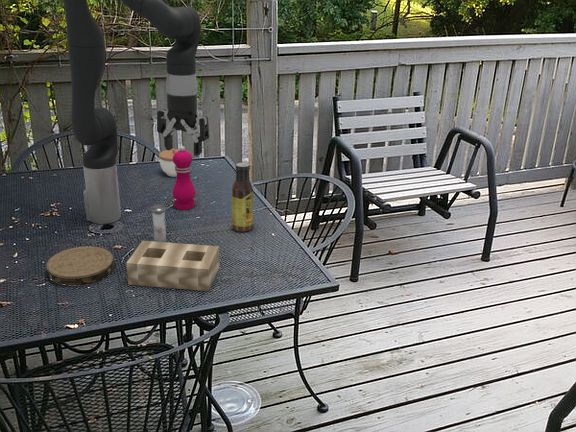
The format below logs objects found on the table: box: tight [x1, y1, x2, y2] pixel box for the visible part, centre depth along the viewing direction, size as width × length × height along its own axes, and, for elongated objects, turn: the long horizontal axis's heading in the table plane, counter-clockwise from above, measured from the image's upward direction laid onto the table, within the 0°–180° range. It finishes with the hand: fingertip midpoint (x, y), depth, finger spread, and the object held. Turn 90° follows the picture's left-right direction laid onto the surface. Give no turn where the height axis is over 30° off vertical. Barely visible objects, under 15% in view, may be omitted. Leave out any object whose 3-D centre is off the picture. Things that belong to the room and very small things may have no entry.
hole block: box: [126, 240, 220, 292], centre depth 145 cm, size 20×12×6 cm, turn 84°
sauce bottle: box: [231, 162, 254, 233], centre depth 168 cm, size 7×6×20 cm
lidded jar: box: [158, 148, 180, 178], centre depth 210 cm, size 11×11×9 cm
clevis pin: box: [149, 204, 167, 242], centre depth 157 cm, size 4×4×12 cm
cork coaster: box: [46, 245, 115, 286], centre depth 147 cm, size 16×16×3 cm
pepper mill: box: [172, 145, 196, 211], centre depth 182 cm, size 7×7×20 cm
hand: (183, 152), depth 153 cm, fingers open, 8 cm apart
